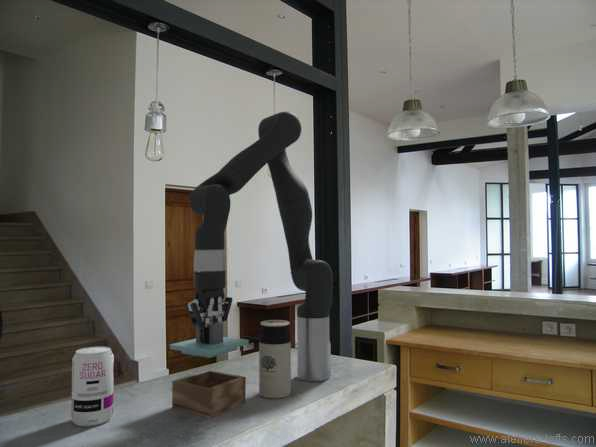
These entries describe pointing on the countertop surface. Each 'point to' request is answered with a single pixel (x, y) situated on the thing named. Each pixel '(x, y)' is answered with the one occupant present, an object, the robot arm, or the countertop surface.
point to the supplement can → (92, 386)
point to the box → (208, 393)
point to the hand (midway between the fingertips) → (210, 341)
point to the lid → (210, 343)
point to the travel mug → (274, 359)
